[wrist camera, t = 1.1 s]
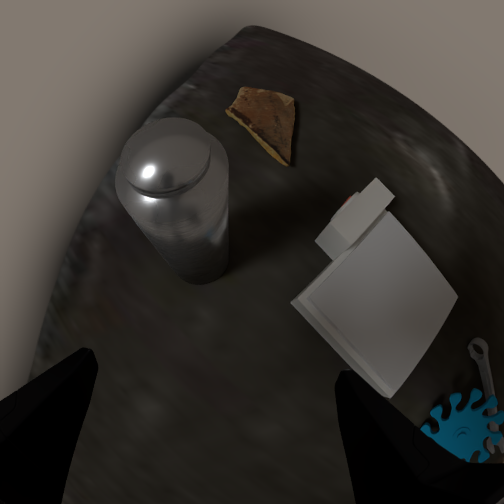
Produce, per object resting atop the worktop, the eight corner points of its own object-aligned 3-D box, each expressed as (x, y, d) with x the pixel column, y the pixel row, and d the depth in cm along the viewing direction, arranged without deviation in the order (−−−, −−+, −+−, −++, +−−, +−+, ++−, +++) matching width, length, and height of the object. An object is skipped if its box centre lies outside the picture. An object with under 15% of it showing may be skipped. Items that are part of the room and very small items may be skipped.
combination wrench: (483, 340, 20) (501, 460, 14) (489, 333, 20) (506, 453, 14) (461, 343, 23) (483, 456, 18) (467, 337, 23) (489, 449, 18)
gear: (434, 385, 19) (519, 393, 13) (437, 376, 24) (509, 384, 17) (397, 478, 18) (476, 490, 11) (408, 457, 22) (475, 468, 15)
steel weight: (195, 297, 22) (144, 235, 9) (159, 253, 23) (87, 153, 10) (241, 258, 24) (256, 153, 10) (203, 217, 24) (181, 92, 11)
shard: (286, 173, 27) (290, 163, 25) (212, 161, 27) (211, 150, 25) (294, 105, 30) (297, 95, 29) (233, 95, 30) (233, 84, 28)
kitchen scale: (376, 394, 21) (401, 401, 17) (266, 277, 23) (274, 265, 19) (444, 298, 24) (470, 291, 20) (355, 195, 26) (372, 174, 22)
